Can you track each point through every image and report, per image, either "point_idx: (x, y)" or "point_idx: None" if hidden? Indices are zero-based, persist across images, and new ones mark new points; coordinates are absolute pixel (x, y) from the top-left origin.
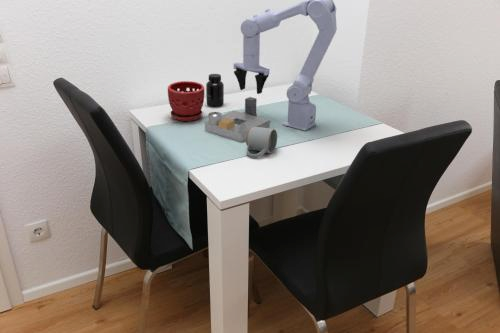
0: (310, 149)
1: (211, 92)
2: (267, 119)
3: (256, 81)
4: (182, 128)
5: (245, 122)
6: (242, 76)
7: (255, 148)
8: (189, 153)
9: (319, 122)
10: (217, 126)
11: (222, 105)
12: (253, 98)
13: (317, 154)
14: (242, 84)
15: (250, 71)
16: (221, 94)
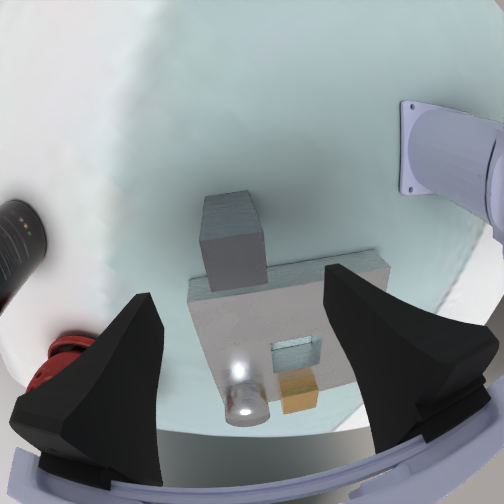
0: (482, 270)
1: (8, 304)
2: (381, 269)
3: (367, 402)
4: (171, 403)
5: (326, 342)
6: (134, 416)
7: None
8: (292, 427)
9: (465, 86)
10: (275, 400)
11: (37, 218)
12: (245, 246)
13: (491, 277)
14: (151, 352)
15: (268, 489)
16: (14, 256)
